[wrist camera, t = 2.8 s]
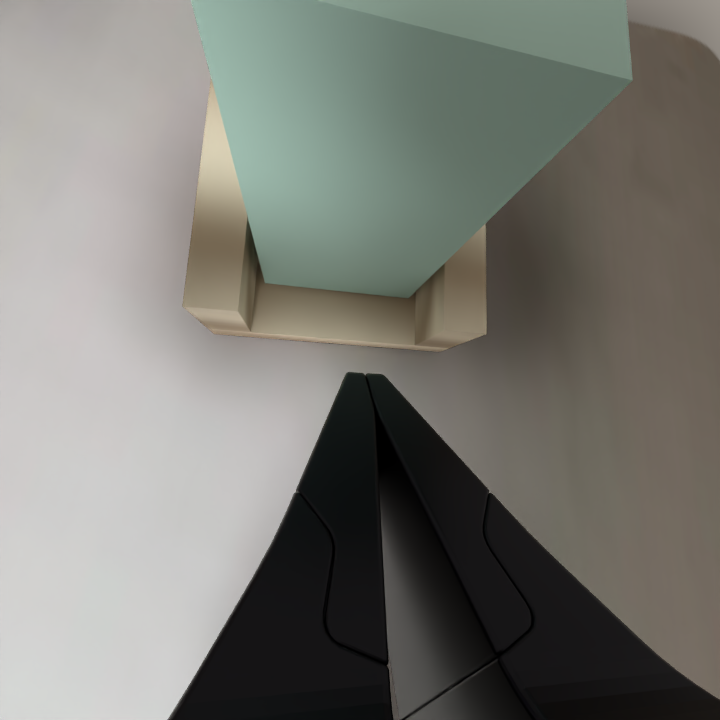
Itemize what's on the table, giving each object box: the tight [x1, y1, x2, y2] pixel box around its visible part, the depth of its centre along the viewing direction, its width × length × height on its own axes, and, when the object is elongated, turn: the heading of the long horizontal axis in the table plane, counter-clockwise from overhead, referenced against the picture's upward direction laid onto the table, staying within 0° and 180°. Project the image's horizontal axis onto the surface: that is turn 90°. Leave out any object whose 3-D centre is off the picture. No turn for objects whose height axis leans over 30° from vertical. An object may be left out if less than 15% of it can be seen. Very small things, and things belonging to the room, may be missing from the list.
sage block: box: [191, 0, 632, 298], centre depth 10 cm, size 6×6×10 cm
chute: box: [182, 79, 487, 352], centre depth 14 cm, size 17×10×4 cm, turn 178°
